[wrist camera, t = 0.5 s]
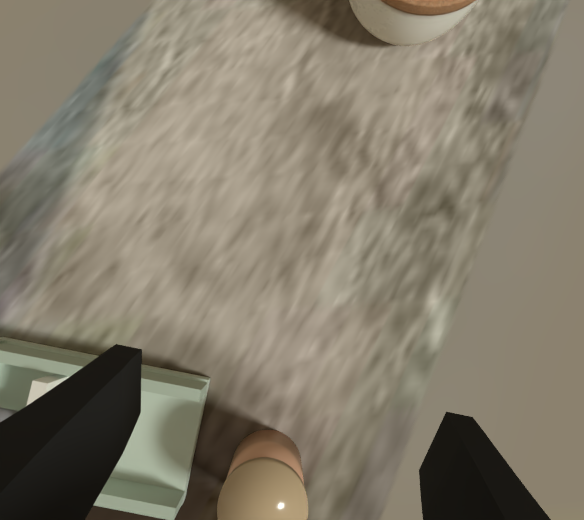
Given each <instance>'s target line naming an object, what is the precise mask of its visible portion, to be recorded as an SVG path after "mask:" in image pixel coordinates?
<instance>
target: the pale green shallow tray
mask: <svg viewBox="0 0 584 520" xmlns="http://www.w3.org/2000/svg"><path fill="white" fill-rule="evenodd" d="M97 357H98V355H93V354H88V353H83V352H78V351H73V350H67V349H62V348H57V347H52V346H47V345H42V344H37V343H32V342H27V341H22V340H17V339H12V338H7V337H0V407H1V408H6V409H12V410H17V411H19V410H21V409H22V408H24V407H26V405H27V401H28V397H29V393H30V389H31V385H32V381H33V380H36V379H39V378H42V377H45V376H48V375H51V374H54V373H55V374H60V375H65V376H71V375H73V374H74V373H76V372H77V371H79V370H80V369H81V368H83V367H84V366H86V365H87V364H88V363H90V362H91V361H93V360H94V359H96V358H97ZM209 382H210V378H209V377H204V376H199V375H194V374H189V373H184V372H179V371H174V370H169V369H164V368H159V367H154V366H149V365H143V364H142V365H141V413H140V416H139V418H138V420H137V423H136V425H135V427H134V430H133V432H132V434H131V437H130V439H129V441H128V443H127V445H126V448H125V450H124V452H123V454H122V456H121V458H120V460H119V461H118V463H117V465H116V467H115V468H114V470H113V472H112V474H111V475H110V477H109V479H108V481H107V482H106V484H105V486H104V487H103V489H102V491H101V493H100V494H99V496H98V498H97V499H96V501H95V503H94V505H95V506H100V507H105V508H111V509H116V510H121V511H126V512H131V513H136V514H141V515H146V516H151V517H157V518H162V519H167V520H174V519H175V517H176V515H177V513H178V511H179V508H180V506H182V504H183V502H184V500H185V496H186V491H187V486H188V482H189V477H190V472H191V468H192V463H193V458H194V453H195V449H196V444H197V439H198V434H199V430H200V425H201V420H202V416H203V411H204V406H205V401H206V397H207V392H208V387H209Z"/></svg>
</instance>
